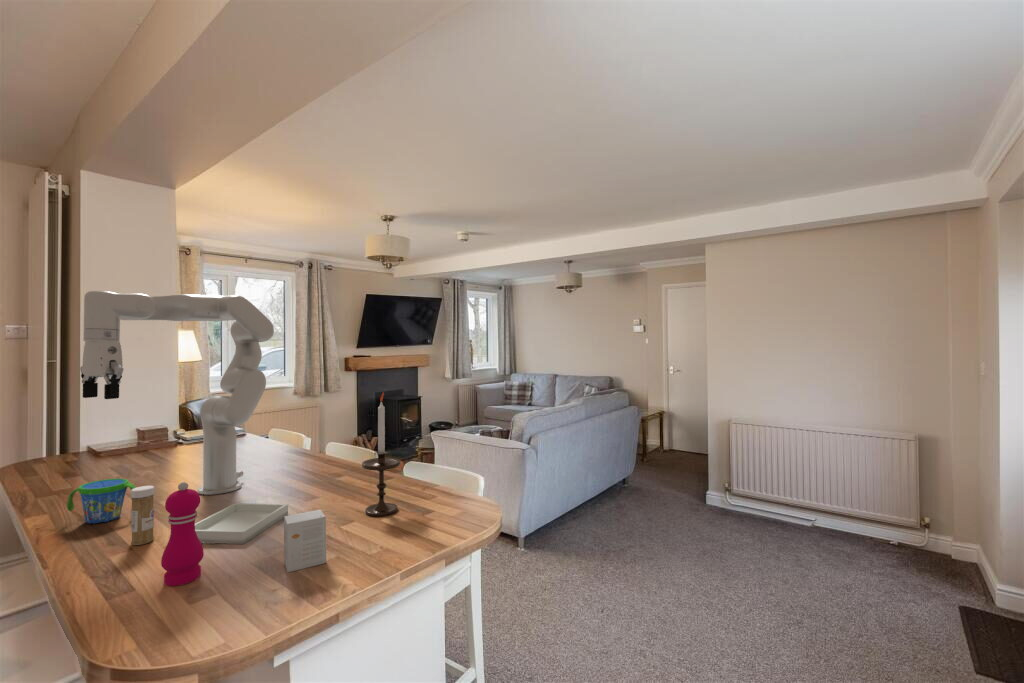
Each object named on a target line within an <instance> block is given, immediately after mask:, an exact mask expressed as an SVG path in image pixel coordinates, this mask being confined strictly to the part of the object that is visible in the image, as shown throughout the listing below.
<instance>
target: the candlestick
mask: <svg viewBox="0 0 1024 683" xmlns="http://www.w3.org/2000/svg"><path fill="white" fill-rule="evenodd" d="M384 392H385V391H382V394H381V396H380V398H379V400H380V403H379V406H378V407H377V452H374V455H377V457H375V458H369V459H366V460H363V461H362V463H361V468H362V469H364V470H368V471H377V472H378V479H379V480H378V483H377V484H376V489H378V492H377V493H376V494H377V495H376V496H378V502H377V503H375V504H370V505H369V506H367V507H366V508H365V511H364V512H365V515H366V516H368V517H373V518H374V517H375V518H379V517H380V518H382V517H387V516H388V517H389V516H392V515H393V514H396V513H397V512H398V505H397V504H395V503H392V502H386V501H385V495H387V494H386V492H385V489H386V488H387V483H385V471H386V470H392V469H395V468H398V467H400V466H401V459H400V458H397V457H388V456H387V457H386V454H389V451H386V450H385V449H386V448H385V447H386V446H385V444H386V442H385V441H386V436H385V435H386V427H385V426H386V425H385V423H386V422H385V420H386V419H385V418H386V415H385V413H386V410H385V406H384V404H383V401H384V400H383V399H384V396H385V393H384Z"/></svg>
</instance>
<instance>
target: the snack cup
mask: <svg viewBox="0 0 1024 683" xmlns="http://www.w3.org/2000/svg"><path fill="white" fill-rule="evenodd" d="M128 488H129V490H132V489H134V488H137V487H136V485H135V484H134V483H131V482H129V480H128V479H127V478H108V479H107V478H106V479H100V480H94V481H91V482H86V483H83V484H81V485H79V486H78V488H75V489H73V491H71V492H70V493H69V495H68V497H67V501H66V508H67V511H69V512H73V510H74V509H75V504H74V501H73V498H74V496H75V493H76V492H78V493H79V495H80V500H81V507H82V512H83V518H84V521H85V522H86V523H87V524H89V525H90V524H91V523H92V524H99V523H107V522H109V521H110V520H111V521H114V520H116V519H119V518H120V517H121V515H122V511H123V507H124V506H123V505H124V503H125V502H124V501H125V496H126V492H127V490H128ZM111 521H110V522H111Z"/></svg>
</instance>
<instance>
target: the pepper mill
mask: <svg viewBox="0 0 1024 683" xmlns="http://www.w3.org/2000/svg"><path fill="white" fill-rule="evenodd" d="M177 489H178V490H174V492H172V493H171V494H169V495H168V496H167V497H166V500H165V505H164V507H165V511H166V512H168V514H169V515H168V516H167V518H168V520H167V523H168V524H170V535H169V538H168V542H167V544H166V546H165V548H164V551H163V553H162V555H161V562H160V563H161V564H160V565H161V567H162V569H163V570H165V571H166V572H164V575H163V583H164V585H165V586H167V587H179V586H182V585H186V584H189V583H192V582H194V581H196V580H198V579H199V578H200V576H201V574H202V566H201V564H200V563H201V561H202V560H203V558H204V554H205V552H204V547H203V543H201V542H200V540H199V538H198V536H197V534H196V531H195V523H196V520H197V519H198V510H197V508H199V506H200V504H201V494H199V493H198V490H195V489H192V488H189V484H188V483H187V482H186V481H184V482H180V483H179V484H178V485H177Z"/></svg>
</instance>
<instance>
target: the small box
mask: <svg viewBox="0 0 1024 683" xmlns="http://www.w3.org/2000/svg"><path fill="white" fill-rule="evenodd" d="M326 519H327V518H326V515H325V514H324V512H323V511H322V509H316V510H311V511H305V512H300V513H295V514H291V515H289V514H288V515H287V516H284V518H283V551H284V552H283V557H284V558H283V563H284V566H285V569H286V573H292V572H295V571H300V570H303V569H308V568H312V567H316V566H319V565H323V564H326V563H327V536H326V535H327V533H326V532H327V520H326Z"/></svg>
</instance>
